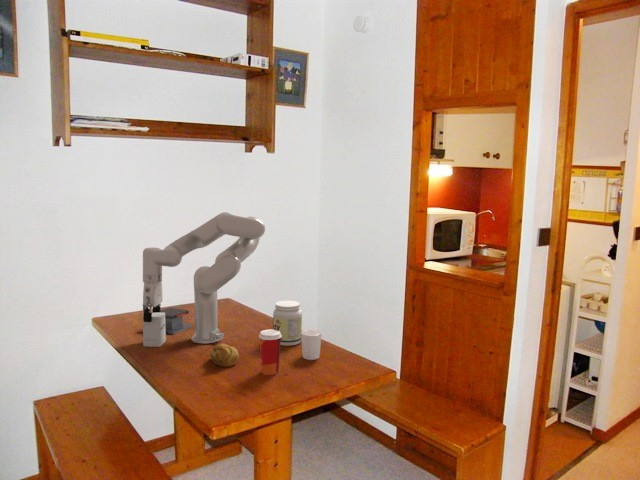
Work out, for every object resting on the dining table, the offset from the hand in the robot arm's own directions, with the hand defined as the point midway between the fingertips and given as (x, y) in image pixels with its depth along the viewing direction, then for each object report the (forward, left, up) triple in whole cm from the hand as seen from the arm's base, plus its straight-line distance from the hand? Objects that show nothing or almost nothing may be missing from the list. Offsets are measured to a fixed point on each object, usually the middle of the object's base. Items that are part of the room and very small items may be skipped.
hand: (152, 318), depth 216 cm
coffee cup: (-59, +2, -11) cm, 60 cm away
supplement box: (-1, -1, -11) cm, 11 cm away
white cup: (-65, -19, -11) cm, 68 cm away
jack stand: (+7, -20, -11) cm, 24 cm away
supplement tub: (-48, -30, -11) cm, 57 cm away
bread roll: (-38, +3, -11) cm, 40 cm away
